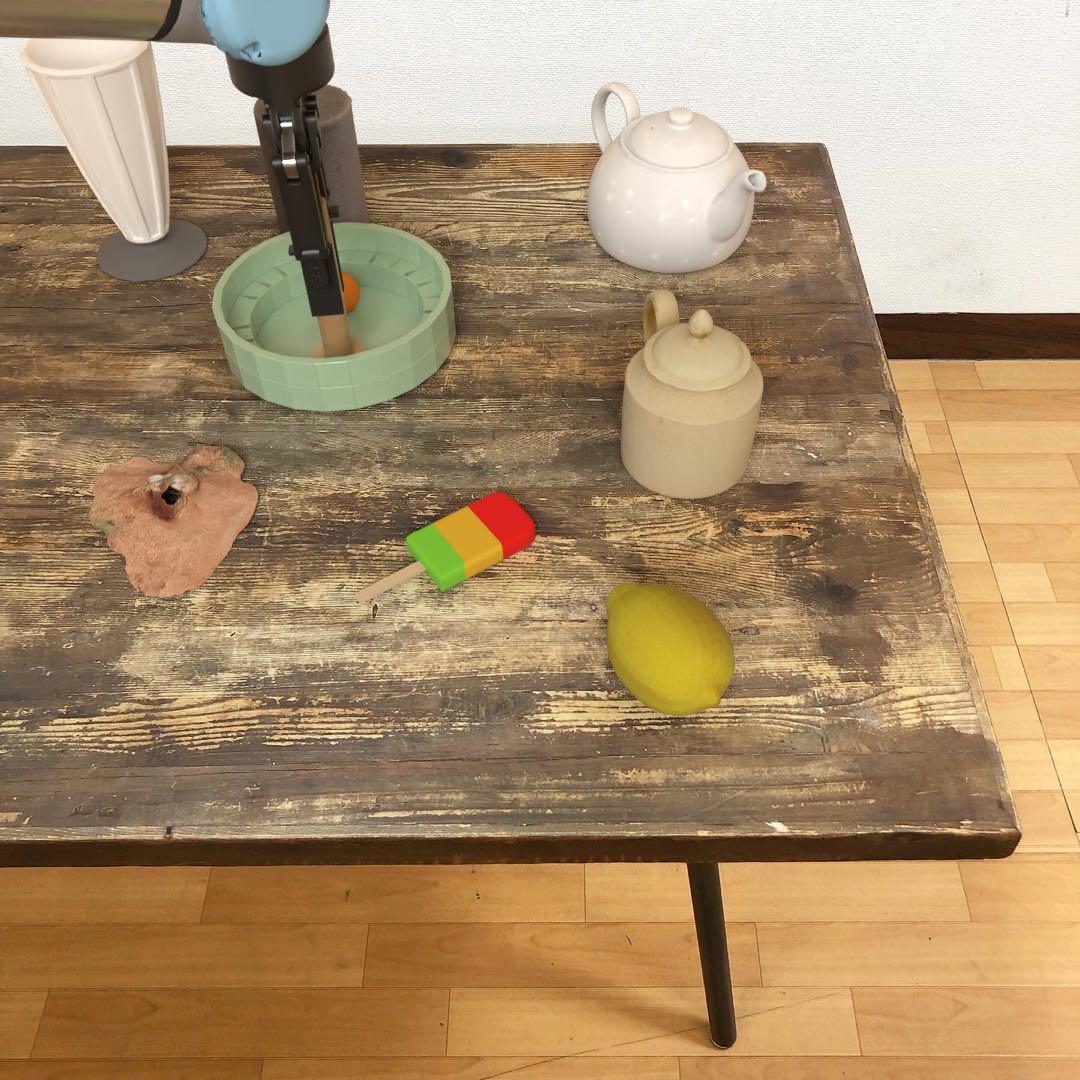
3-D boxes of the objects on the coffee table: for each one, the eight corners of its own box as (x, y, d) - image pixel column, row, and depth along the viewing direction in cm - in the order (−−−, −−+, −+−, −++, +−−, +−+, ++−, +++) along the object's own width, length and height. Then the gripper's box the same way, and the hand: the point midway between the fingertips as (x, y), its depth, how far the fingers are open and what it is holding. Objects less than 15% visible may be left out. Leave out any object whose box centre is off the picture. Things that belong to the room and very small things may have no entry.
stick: (313, 379, 96) (277, 221, 84) (314, 345, 99) (280, 188, 87) (367, 374, 96) (339, 216, 84) (366, 341, 99) (340, 184, 87)
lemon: (753, 718, 74) (770, 650, 68) (654, 762, 72) (662, 696, 66) (673, 607, 80) (682, 536, 74) (580, 644, 78) (582, 574, 72)
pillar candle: (283, 258, 111) (252, 120, 100) (276, 209, 118) (246, 74, 106) (376, 244, 113) (355, 107, 101) (364, 197, 119) (344, 62, 108)
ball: (321, 324, 103) (313, 289, 100) (321, 299, 105) (315, 264, 102) (362, 320, 103) (356, 286, 100) (362, 296, 106) (356, 261, 103)
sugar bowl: (562, 428, 93) (562, 283, 82) (651, 373, 98) (663, 229, 87) (687, 522, 86) (705, 376, 75) (777, 457, 91) (807, 311, 79)
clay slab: (237, 592, 82) (228, 566, 80) (63, 598, 82) (49, 573, 79) (263, 457, 91) (255, 431, 89) (107, 463, 91) (95, 437, 89)
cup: (94, 231, 115) (17, 26, 99) (202, 212, 117) (144, 8, 101) (99, 291, 108) (17, 81, 92) (214, 269, 110) (154, 60, 94)
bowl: (218, 426, 94) (201, 373, 90) (236, 283, 109) (222, 231, 104) (463, 405, 96) (458, 352, 91) (449, 266, 110) (444, 214, 105)
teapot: (758, 193, 118) (776, 71, 108) (750, 290, 106) (770, 163, 96) (591, 179, 121) (593, 59, 111) (564, 274, 109) (565, 148, 99)
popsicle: (542, 541, 85) (541, 526, 83) (376, 630, 79) (372, 615, 78) (503, 500, 88) (502, 484, 86) (341, 583, 82) (337, 567, 81)
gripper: (325, 71, 70) (372, 354, 88) (329, -24, 81) (370, 247, 98) (209, 79, 70) (280, 362, 87) (228, -17, 80) (288, 253, 98)
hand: (328, 301), depth 93 cm, fingers closed on stick, 2 cm apart
